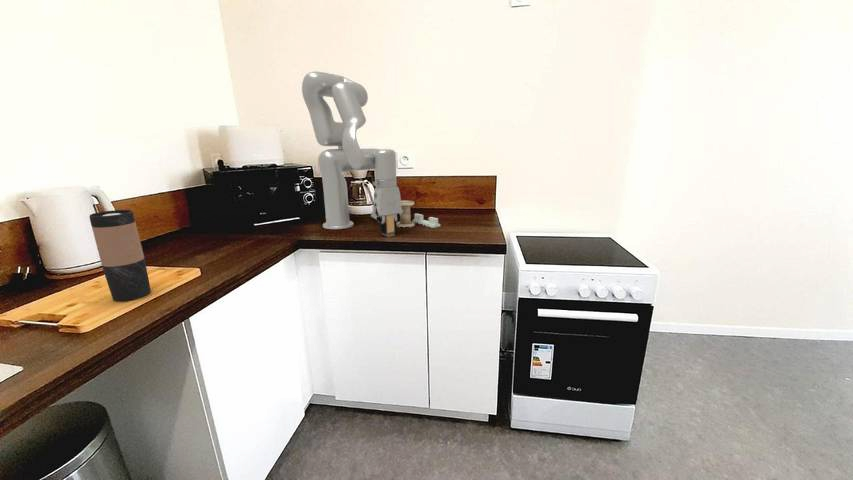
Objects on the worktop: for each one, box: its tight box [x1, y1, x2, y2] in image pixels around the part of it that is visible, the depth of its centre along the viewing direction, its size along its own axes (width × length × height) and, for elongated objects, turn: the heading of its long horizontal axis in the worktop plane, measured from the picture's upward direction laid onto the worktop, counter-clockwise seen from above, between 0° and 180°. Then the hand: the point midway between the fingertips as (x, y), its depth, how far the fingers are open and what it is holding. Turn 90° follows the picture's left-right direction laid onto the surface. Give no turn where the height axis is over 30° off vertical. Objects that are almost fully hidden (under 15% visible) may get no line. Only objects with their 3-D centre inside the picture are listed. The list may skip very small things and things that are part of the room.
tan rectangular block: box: [381, 215, 396, 238], centre depth 135 cm, size 4×3×8 cm
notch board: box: [412, 213, 441, 229], centre depth 152 cm, size 14×4×4 cm, turn 40°
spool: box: [396, 200, 416, 229], centre depth 149 cm, size 8×8×10 cm
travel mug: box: [89, 209, 152, 303], centre depth 82 cm, size 8×8×20 cm
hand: (388, 231), depth 136 cm, fingers open, 3 cm apart
